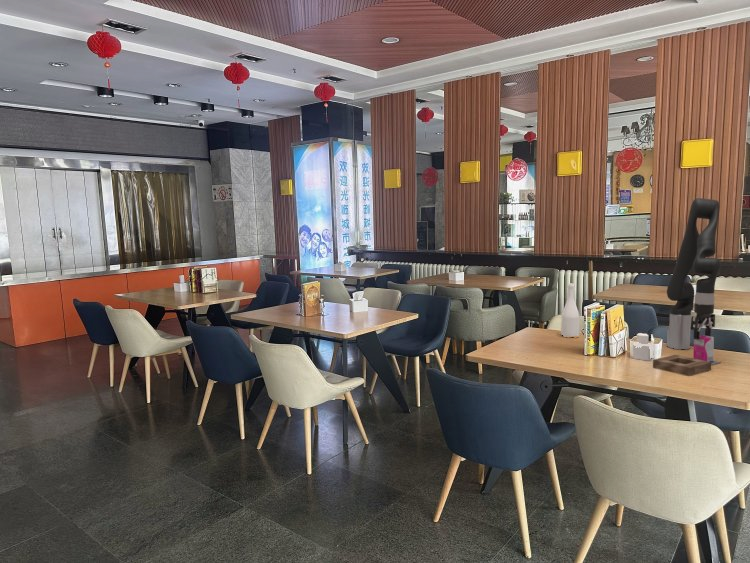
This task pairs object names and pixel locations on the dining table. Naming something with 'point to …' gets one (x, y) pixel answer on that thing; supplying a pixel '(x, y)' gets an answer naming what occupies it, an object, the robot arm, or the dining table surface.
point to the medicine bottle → (642, 352)
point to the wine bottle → (570, 315)
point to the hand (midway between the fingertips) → (702, 338)
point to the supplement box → (704, 348)
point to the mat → (715, 362)
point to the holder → (682, 365)
